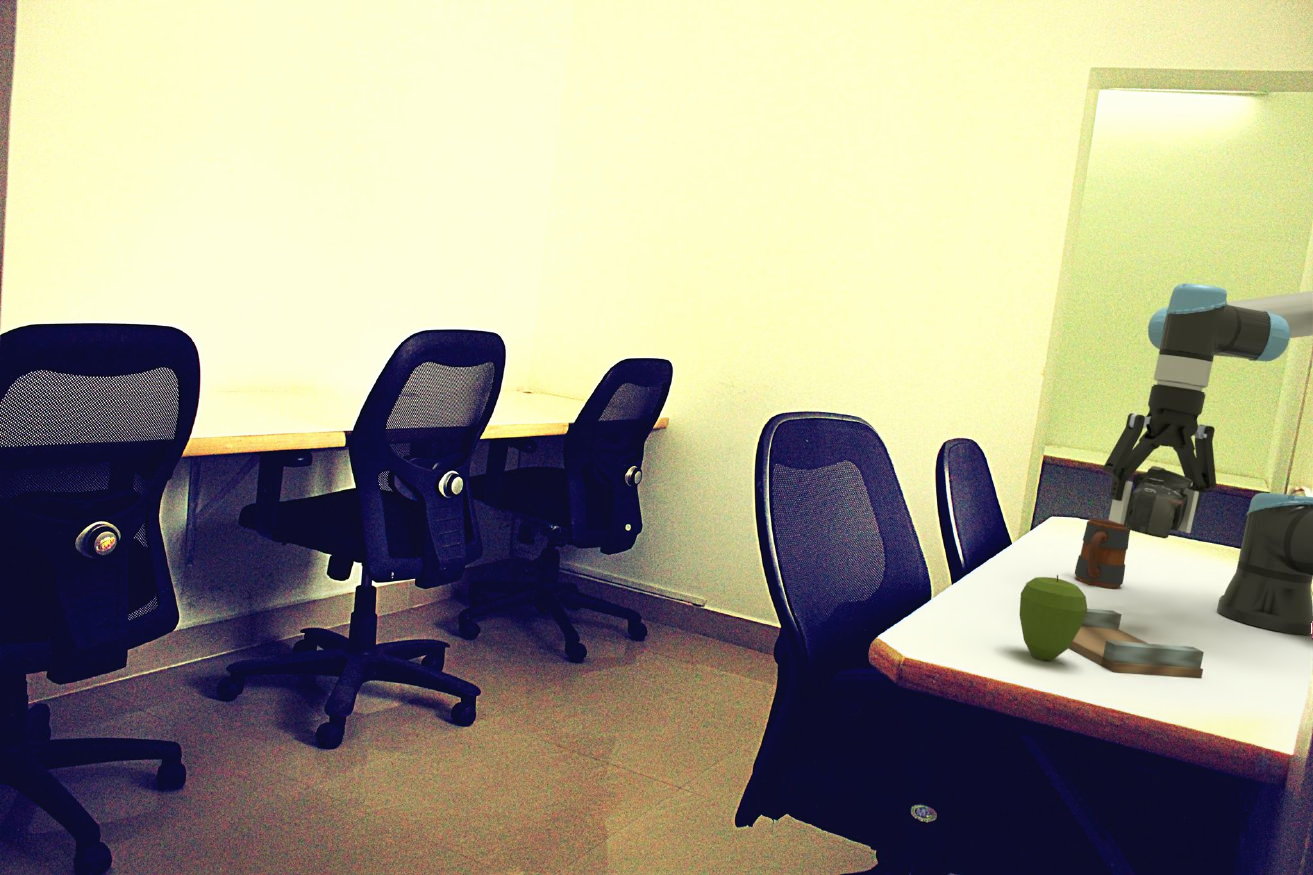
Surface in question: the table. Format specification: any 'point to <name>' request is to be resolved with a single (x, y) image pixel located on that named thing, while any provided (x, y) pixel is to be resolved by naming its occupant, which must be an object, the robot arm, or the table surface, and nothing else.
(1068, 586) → the apple
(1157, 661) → the stand
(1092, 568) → the mug
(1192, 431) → the robot arm
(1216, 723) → the table surface
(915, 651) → the table surface
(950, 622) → the table surface
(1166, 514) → the camera
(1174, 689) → the table surface
